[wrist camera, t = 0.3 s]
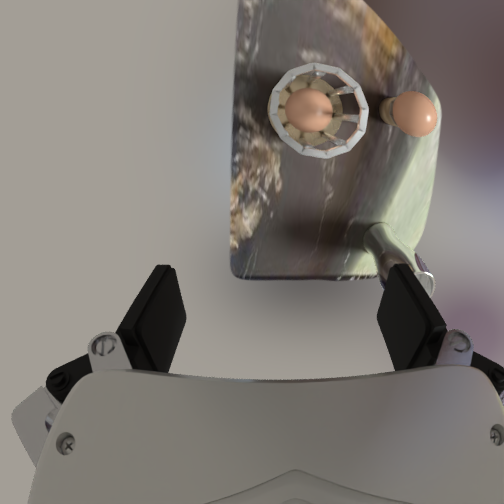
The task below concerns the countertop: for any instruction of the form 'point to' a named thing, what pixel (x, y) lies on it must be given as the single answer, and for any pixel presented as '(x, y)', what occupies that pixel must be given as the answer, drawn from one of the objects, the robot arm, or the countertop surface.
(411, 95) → the terracotta ball
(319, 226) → the countertop surface
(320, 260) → the countertop surface
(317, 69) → the cage tube
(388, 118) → the stand
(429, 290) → the beer glass
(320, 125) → the ball
